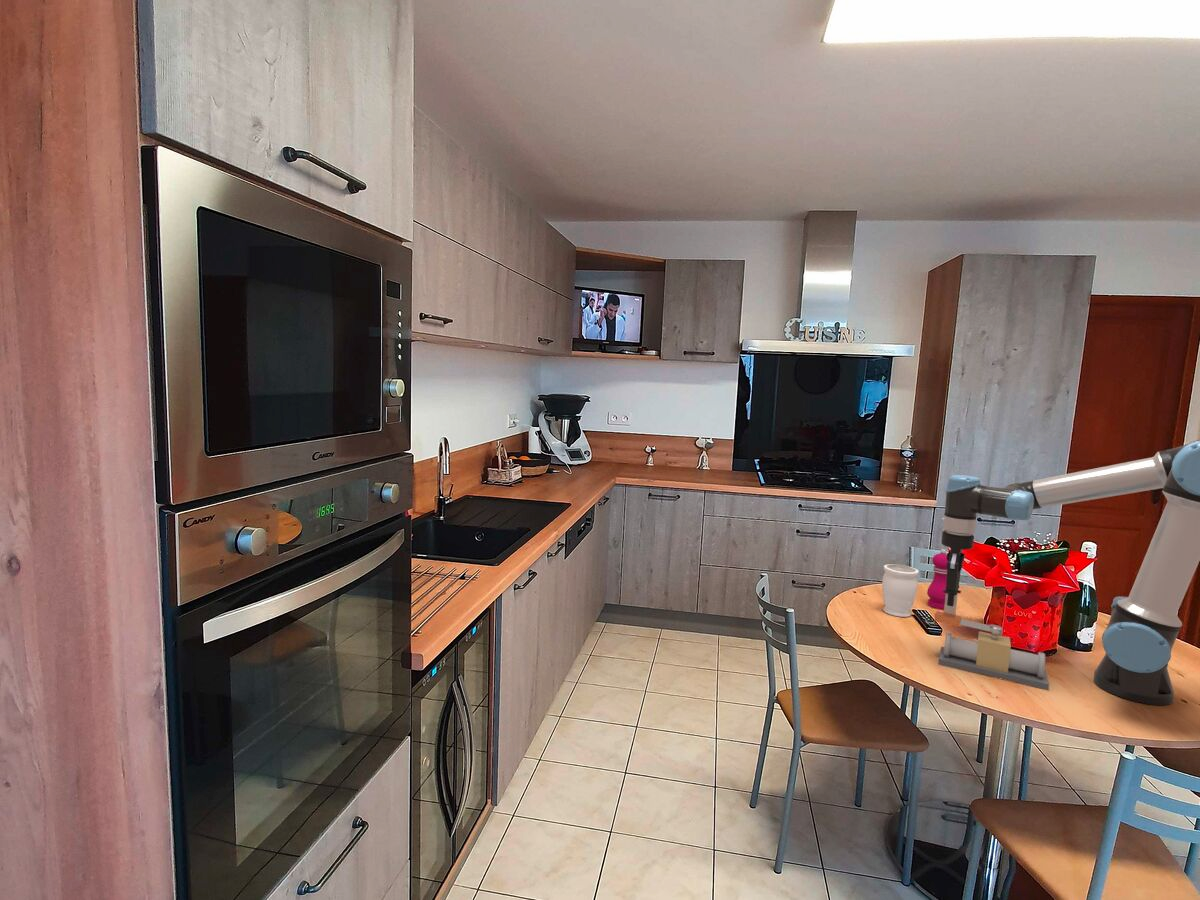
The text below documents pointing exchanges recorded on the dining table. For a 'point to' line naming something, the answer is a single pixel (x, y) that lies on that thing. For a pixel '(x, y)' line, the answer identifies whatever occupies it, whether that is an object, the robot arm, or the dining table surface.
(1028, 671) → the valve
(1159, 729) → the dining table surface
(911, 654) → the dining table surface
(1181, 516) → the robot arm
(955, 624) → the valve lever
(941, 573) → the pepper mill
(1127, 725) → the dining table surface
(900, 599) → the jar
